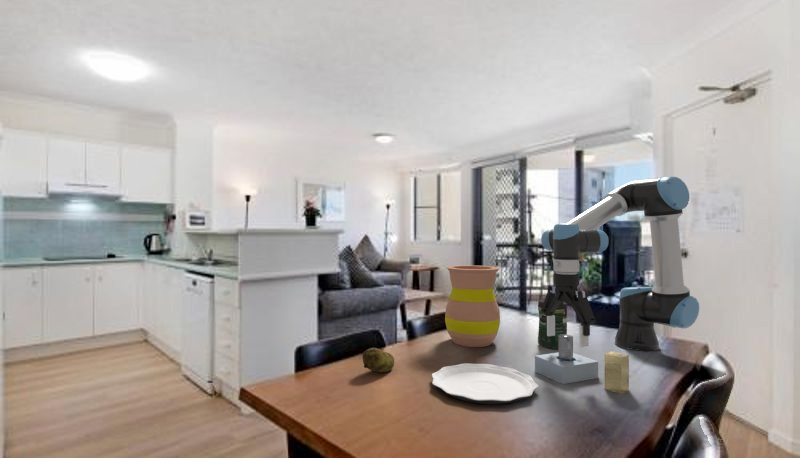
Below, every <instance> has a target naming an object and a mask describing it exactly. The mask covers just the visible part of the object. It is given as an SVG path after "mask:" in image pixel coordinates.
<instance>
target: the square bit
mask: <svg viewBox="0 0 800 458" xmlns="http://www.w3.org/2000/svg"><path fill="white" fill-rule="evenodd" d="M629 387H630V355H629V354H627V353H623V352H618V351H614V350H611V351H608V352H606V353H604V390H606V391H610V392H613V393H617V394H620V395H623V394H625V393H627V392H628V391H630V388H629Z"/></svg>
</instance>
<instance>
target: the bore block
mask: <svg viewBox="0 0 800 458" xmlns="http://www.w3.org/2000/svg"><path fill="white" fill-rule="evenodd" d="M534 372H535V373H538V374H540V375H542V376H544V377H546V378H549V379H551V380H553V381H556V382H557V383H559V384H562V385H565V384H571V383H577V382H582V381H588V380H593V379H594V380H595V379H599V361H598V360H595V359H592V358H589V357H587V356H584V355H580V354H578V353H575V352H573V361H562V360H559V351H557V352H551V353H545V354H539V355H537V354H536V355H534Z"/></svg>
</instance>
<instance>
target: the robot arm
mask: <svg viewBox="0 0 800 458" xmlns="http://www.w3.org/2000/svg"><path fill="white" fill-rule="evenodd" d="M689 202H690V192H689V188H688V187H687V184H686V183H685V182H684V181H683V180H682V179H681V178H679V177H678V176H661V177H655V178H654V177H653V178H652V177H651V178H646V179H635V180H632V181H629V182H627V183H625V184H622V185H621V186H618V187H617V188H615V189H613V190H611V191H610V192H608V193H607V194H606V195H605V196H604V197H603V199H602V200H601V201H599V202H598V203H596V204H595V205H593V206H591V207H590V208H588V209H587V210H585V211H583V212H582V213H580V214H578V215H577V216H575V217H574V218H572V219H570V220H569V221H568V222H566V223H557V224H555V225H553V228H551V229H547V230H545V231H544V232H543V233H542V234H541V239H540V240H541V245H542V247H543V249H545V250H547V251H553V272H554V274H553V284H554V285H548V286H547V293H546V295H545V297H544V298H545V300H544V303H543V306H542V308H541V312H543V313H545V315H546V325H547V336H555V316H554V312H555V311H556V309H557V308H558V306H559V305H560V304H561V302H565V303H567V305H569V306H571V308H572V309H573V311H574V312H575V314H576V316H577V318H578V320H579V322H580V324H579V347H580V348H584V347H585V348H586V347H589V337H590V335H591V325H593V324H596V323H597V321H596V317H595V315H594V313H593V309H592V307H591V304H590V302H589V299H588V292H587V290H579V289H578V287H579V286H580V274H579V273H580V254H598V253H602V252H604V251H606V250H607V248H608V246H609V243H610V242H609V236H608V234H607V233H606V232H605V231H603V230H601V229H598V228H600V227H601V226H603V225H604V224H607V223H608V222H609V221H610V220H612V219H614V218H616V217H621V216H623V215H625V214H627V213H632V212H643V214H644V218H645V219H647V220H648V221H649V228H650V235H651V247H652V258H653V269H654V280H655V285H654V286H653V287H652V286H635V287H633V286H632V287H623V288H621V290H620V294H619V326H618V329H617V331H616V334H615V336H614V345H616V346H618V347H620V348H624V349H627V350H633V351H640V352H642V351H643V352H652V351H653V352H654V351H658V350H659V349H660V341H659V340H658V336H657V333H656V331H655V324H658V325H663V326H667V327H671V328H679V329H689V328H690V327H691V326H693V325H694V324H695V322H696V320H697V319H698V316H699V312H700V303H699V301H698V299H697V298H696V297H694V296H691V294H690V288H689V287H687V286H686V285H685V282H684V270H683V260H682V249H681V239H680V238H681V237H680V229H679V219H680V217H681V216H682V215H683V209H686V208H687V206H688V205H689Z"/></svg>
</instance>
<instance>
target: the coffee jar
mask: <svg viewBox="0 0 800 458" xmlns="http://www.w3.org/2000/svg"><path fill="white" fill-rule="evenodd" d="M545 298H546V297H544V298H543V297H542V298H539V300H538V302H537V303H538V305H537V310H538V316H539V317H538V333H537V335H538V336H537V344H538V345H539V346H541V347H545V348H546V349H551V350H552V349H556V350H559V335H562V334H564V332H563V313H564V303H563V302H561V304H560V305H559V306H558V308H557V309H556V311H555V312H554V316H555V336H547V325H546V315H545V313H543V312H541V308H542V306H543V303H544V300H545Z"/></svg>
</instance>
